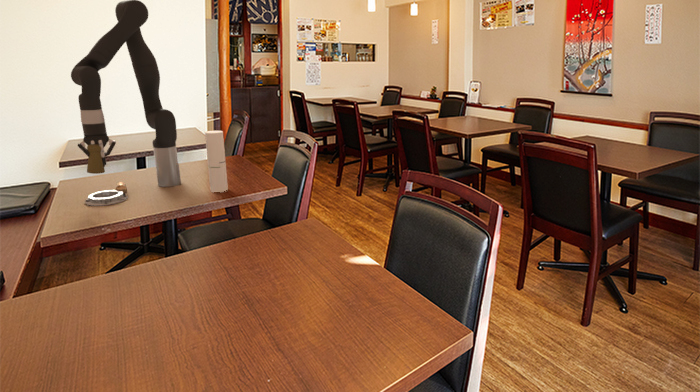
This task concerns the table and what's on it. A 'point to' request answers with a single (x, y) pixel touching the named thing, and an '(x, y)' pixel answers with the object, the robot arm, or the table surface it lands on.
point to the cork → (95, 159)
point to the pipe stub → (121, 187)
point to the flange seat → (106, 198)
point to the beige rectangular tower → (216, 161)
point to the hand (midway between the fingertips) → (101, 166)
